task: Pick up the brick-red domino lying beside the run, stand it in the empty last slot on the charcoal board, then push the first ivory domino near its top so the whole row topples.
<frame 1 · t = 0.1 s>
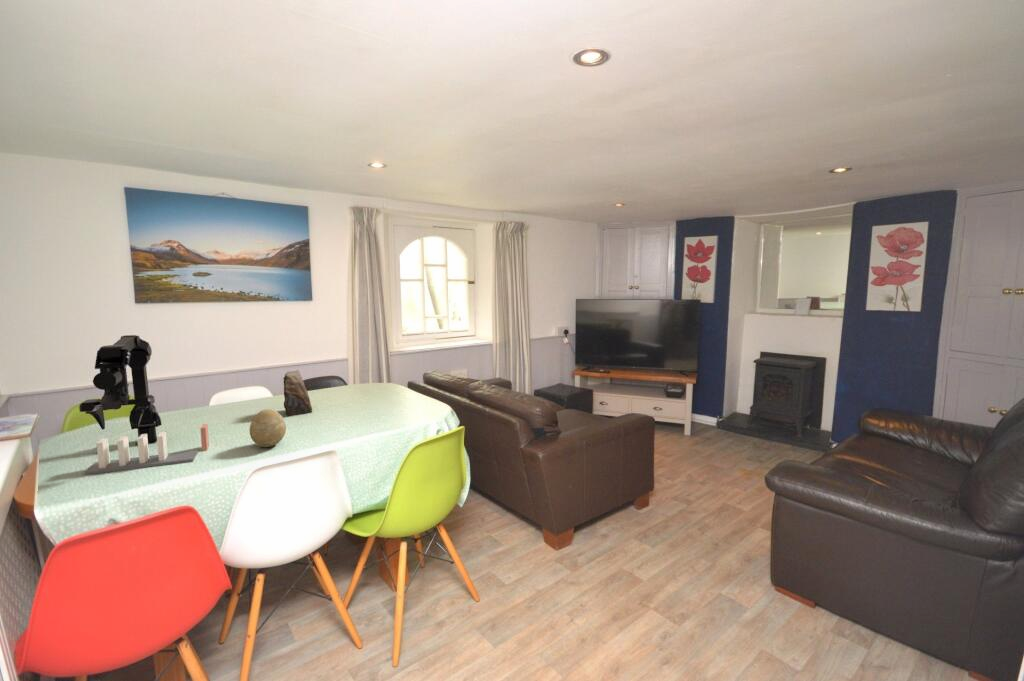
hand: (120, 427, 156), 15 cm above the table, tool pointing down, fingers open, 9 cm apart
brick domino: (205, 448, 177), on the table
domino 1: (104, 465, 158), point 1 cm above the table, touching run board
domino 3: (144, 460, 162), point 1 cm above the table, touching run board
fossilized egg: (268, 446, 181), on the table
domino 2: (124, 462, 160), point 1 cm above the table, touching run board
domino 4: (163, 458, 165), point 1 cm above the table, touching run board
tapered brown rock: (298, 412, 225), on the table
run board: (144, 463, 162), on the table
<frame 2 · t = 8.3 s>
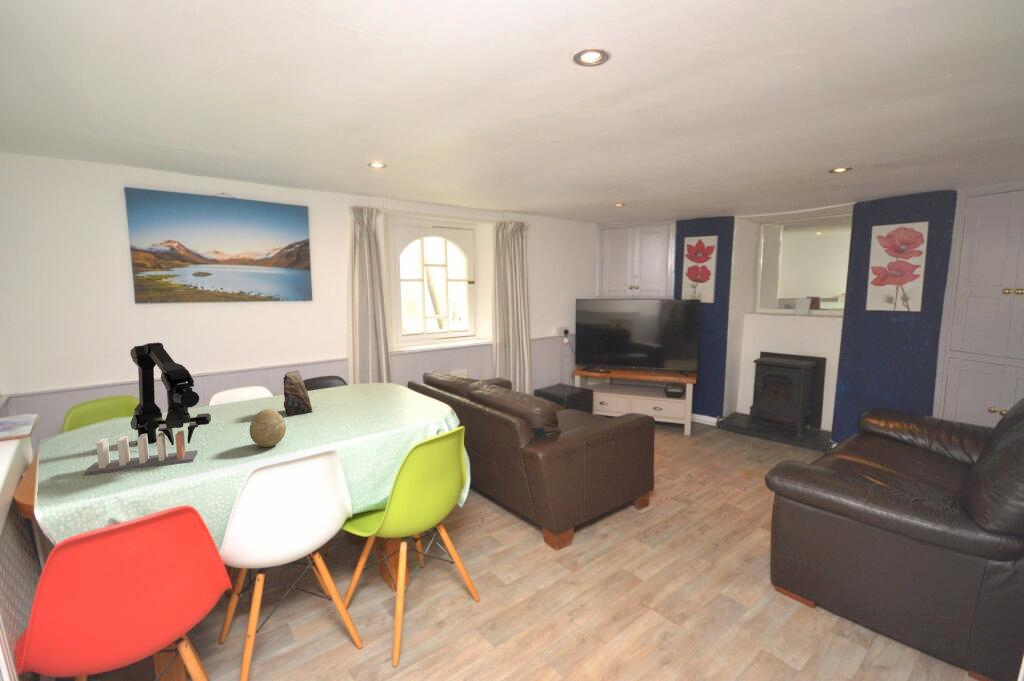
hand: (181, 444, 166), 6 cm above the table, tool pointing down, fingers open, 4 cm apart
brick domino: (181, 456, 166), point 1 cm above the table, touching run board
domino 4: (163, 458, 165), point 1 cm above the table, touching gripper, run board
everything else where it was.
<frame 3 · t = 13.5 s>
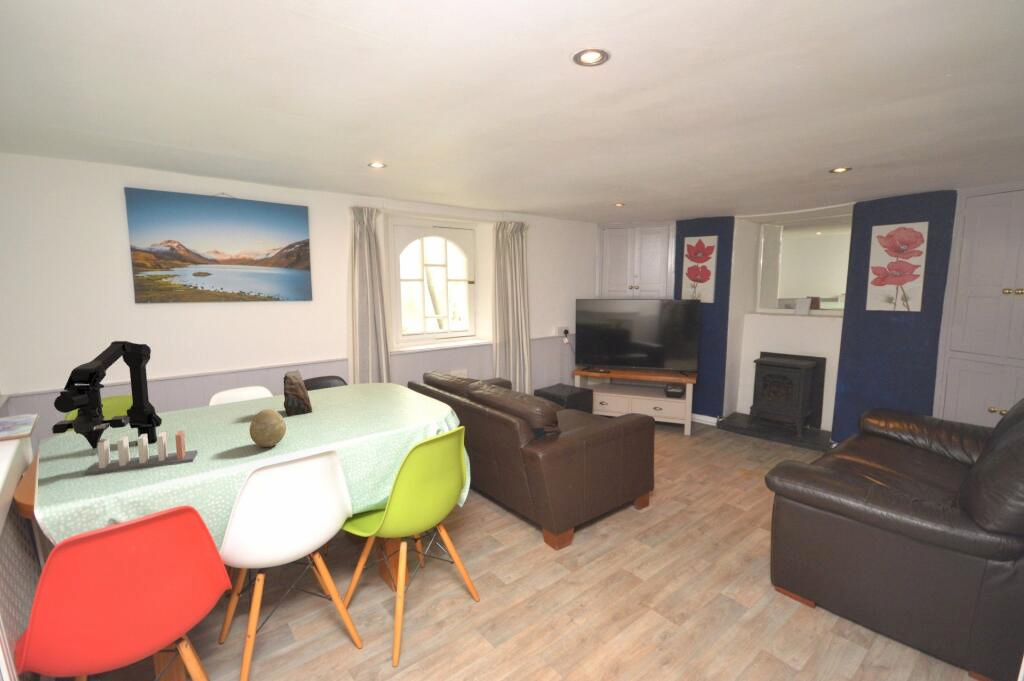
hand: (95, 448, 156), 7 cm above the table, tool pointing down, fingers closed
domino 1: (104, 465, 158), point 1 cm above the table, touching gripper, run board
domino 4: (163, 458, 165), point 1 cm above the table, touching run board
everything else where it was.
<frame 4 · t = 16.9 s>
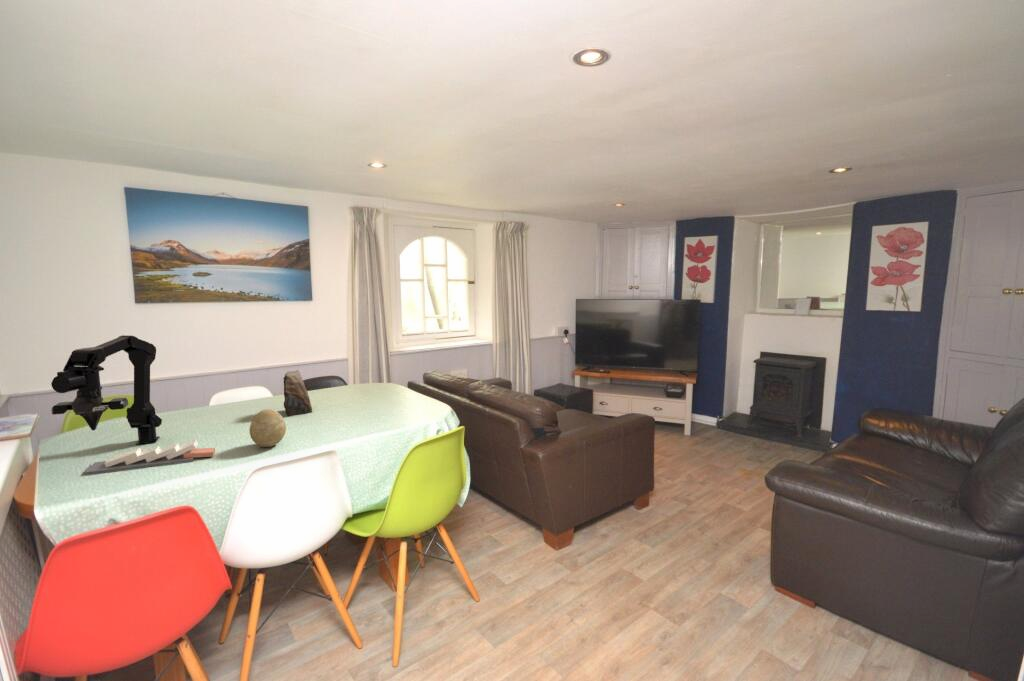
hand: (93, 429, 158), 13 cm above the table, tool pointing down, fingers closed
brick domino: (185, 453, 167), point 2 cm above the table, tilted 95°, touching domino 4, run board
domino 1: (108, 462, 158), point 2 cm above the table, tilted 73°, touching domino 2, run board
domino 3: (148, 457, 163), point 2 cm above the table, tilted 72°, touching domino 2, domino 4, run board
domino 2: (128, 460, 160), point 2 cm above the table, tilted 73°, touching domino 1, domino 3, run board
domino 4: (168, 455, 165), point 2 cm above the table, tilted 69°, touching brick domino, domino 3, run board
everything else where it was.
at the end: brick domino tilted 95°; brick domino 0.9 cm from the target spot on the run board, point 2.0 cm above the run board's base; domino 3 tilted 72° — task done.
